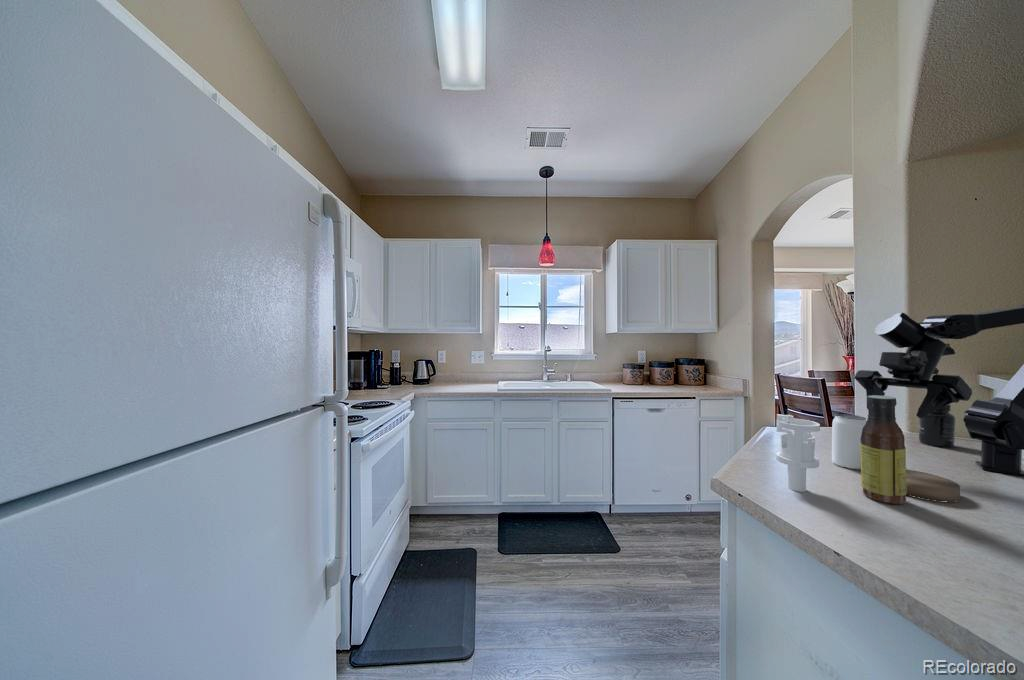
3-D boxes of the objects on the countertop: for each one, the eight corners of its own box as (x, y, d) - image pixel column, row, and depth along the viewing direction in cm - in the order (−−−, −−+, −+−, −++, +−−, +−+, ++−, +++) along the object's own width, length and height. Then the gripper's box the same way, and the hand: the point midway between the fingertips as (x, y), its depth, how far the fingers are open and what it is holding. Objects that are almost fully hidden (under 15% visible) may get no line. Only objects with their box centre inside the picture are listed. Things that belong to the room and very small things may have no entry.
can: (875, 471, 86) (876, 420, 86) (842, 469, 87) (843, 418, 87) (855, 461, 93) (856, 414, 92) (825, 460, 94) (826, 412, 94)
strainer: (775, 479, 82) (776, 411, 81) (816, 486, 78) (818, 415, 77) (775, 490, 76) (776, 417, 76) (820, 499, 72) (821, 422, 71)
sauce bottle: (893, 494, 74) (895, 395, 74) (915, 508, 68) (917, 400, 68) (852, 489, 76) (854, 393, 76) (870, 502, 70) (872, 398, 70)
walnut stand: (877, 475, 84) (877, 464, 84) (951, 488, 77) (952, 476, 77) (883, 491, 75) (883, 479, 75) (967, 508, 68) (967, 494, 68)
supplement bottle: (911, 441, 110) (912, 401, 110) (932, 440, 111) (933, 400, 110) (940, 448, 103) (941, 405, 103) (962, 448, 104) (963, 405, 104)
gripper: (855, 339, 96) (827, 387, 93) (958, 337, 78) (927, 398, 75) (880, 365, 98) (853, 413, 95) (985, 370, 80) (956, 429, 77)
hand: (892, 413), depth 86 cm, fingers open, 9 cm apart
